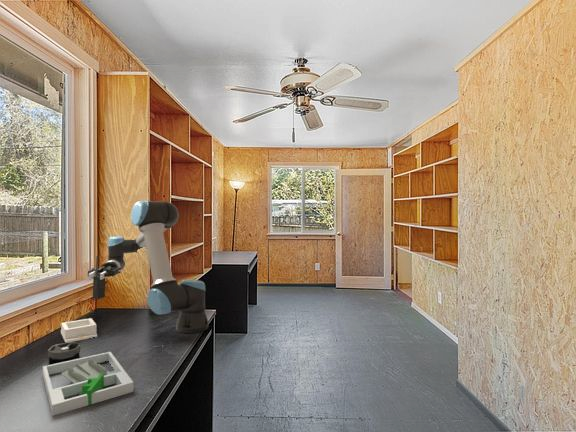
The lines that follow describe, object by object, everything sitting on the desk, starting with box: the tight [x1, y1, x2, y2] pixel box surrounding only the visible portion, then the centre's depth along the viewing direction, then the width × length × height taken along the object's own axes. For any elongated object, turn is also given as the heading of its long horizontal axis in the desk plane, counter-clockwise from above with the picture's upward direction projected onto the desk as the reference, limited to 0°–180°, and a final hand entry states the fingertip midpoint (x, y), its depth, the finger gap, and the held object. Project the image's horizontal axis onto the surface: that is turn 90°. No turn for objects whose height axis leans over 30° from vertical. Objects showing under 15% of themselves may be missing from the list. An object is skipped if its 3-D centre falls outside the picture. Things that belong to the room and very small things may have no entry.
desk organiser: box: [42, 351, 134, 417], centre depth 113 cm, size 30×21×3 cm
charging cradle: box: [60, 317, 98, 343], centre depth 157 cm, size 16×12×5 cm
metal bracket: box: [60, 359, 117, 396], centre depth 115 cm, size 14×6×15 cm
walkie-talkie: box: [92, 255, 106, 300], centre depth 162 cm, size 5×3×20 cm
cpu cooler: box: [47, 341, 81, 365], centre depth 129 cm, size 10×6×10 cm
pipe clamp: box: [82, 374, 105, 406], centre depth 105 cm, size 10×4×4 cm, turn 9°
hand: (95, 276), depth 157 cm, fingers closed on walkie-talkie, 4 cm apart
